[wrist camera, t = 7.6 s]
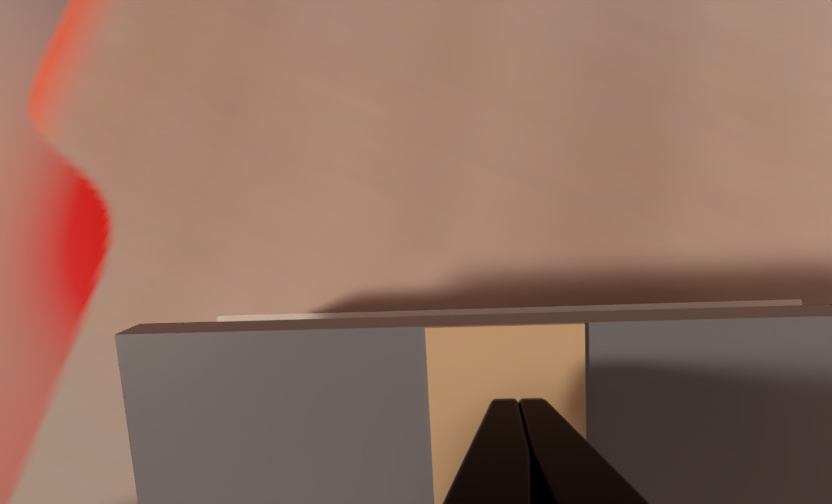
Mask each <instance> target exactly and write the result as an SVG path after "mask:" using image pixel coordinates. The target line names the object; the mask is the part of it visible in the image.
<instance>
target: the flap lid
mask: <svg viewBox="0 0 832 504" xmlns="http://www.w3.org/2000/svg"><path fill="white" fill-rule="evenodd" d="M115 340H116V347H117V355H118V362H119V369H120V376H121V383H122V390H123V398H124V405H125V412H126V419H127V426H128V433H129V441H130V448H131V455H132V462H133V469H134V476H135V484H136V491H137V498H138V504H443V502H444V499H445V497H446V495H447V493H448V491H449V489H450V487H451V485H452V483H453V480H454V478H455V476H456V474H457V472H458V470H459V468H460V466H461V464H462V461H463V459H464V457H465V455H466V453H467V451H468V449H469V447H470V445H471V442H472V440H473V438H474V436H475V434H476V432H477V430H478V428H479V426H480V423H481V421H482V419H483V417H484V415H485V413H486V411H487V409H488V407H489V404H490V402H491V401H492V400H493V399H502V398H514V399H516V400H517V401H518V402H519V400H520V399H521V398H543V399H545V400H547V401H548V402H549V403H550V404H551V405H552V406H553V407H554V408H555V409H556V410H557V411H558V412H559V413H560V414H561V415H562V416H563V417H564V418H565V419H566V420H567V421H568V422H569V423H570V424H571V425H572V426H573V427H574V428H575V429H576V430H577V431H578V432H579V433H580V434H581V435H582V436H583V437H584V438H585V439H586V440H587V441H588V442H589V443H590V444H591V445H592V446H593V447H594V448H595V449H596V450H597V451H598V452H599V453H600V454H601V455H602V456H603V457H604V458H605V459H606V460H607V461H608V462H609V463H610V464H611V465H612V466H613V467H614V468H615V469H616V470H617V471H618V472H619V473H620V474H621V475H622V476H623V477H624V478H625V479H626V480H627V481H628V482H629V483H630V484H631V485H632V486H633V487H634V488H635V489H636V490H637V491H638V492H639V493H640V494H641V495H642V496H643V497H644V498H645V499H646V500H647V501H648V502H649V503H650V504H832V304H828V305H793V306H757V307H722V308H686V309H651V310H615V311H580V312H544V313H509V314H473V315H438V316H402V317H366V318H331V319H295V320H260V321H224V322H189V323H153V324H138V325H136V326H134V327H131V328H129V329H127V330H124V331H122V332H120V333H117V334H115Z"/></svg>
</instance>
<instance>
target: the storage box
mask: <svg viewBox="0 0 832 504" xmlns="http://www.w3.org/2000/svg"><path fill="white" fill-rule="evenodd" d="M793 305H803V303H802V299H786V300H752V301H718V302H683V303H649V304H615V305H581V306H547V307H513V308H479V309H445V310H411V311H377V312H343V313H308V314H274V315H240V316H217V322H224V321H260V320H295V319H331V318H366V317H402V316H438V315H473V314H509V313H544V312H580V311H615V310H651V309H686V308H722V307H757V306H793Z"/></svg>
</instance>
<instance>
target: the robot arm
mask: <svg viewBox="0 0 832 504" xmlns="http://www.w3.org/2000/svg"><path fill="white" fill-rule="evenodd" d="M443 504H650V503H649V502H648V501H647V500H646V499H645V498H644V497H643V496H642V495H641V494H640V493H639V492H638V491H637V490H636V489H635V488H634V487H633V486H632V485H631V484H630V483H629V482H628V481H627V480H626V479H625V478H624V477H623V476H622V475H621V474H620V473H619V472H618V471H617V470H616V469H615V468H614V467H613V466H612V465H611V464H610V463H609V462H608V461H607V460H606V459H605V458H604V457H603V456H602V455H601V454H600V453H599V452H598V451H597V450H596V449H595V448H594V447H593V446H592V445H591V444H590V443H589V442H588V441H587V440H586V439H585V438H584V437H583V436H582V435H581V434H580V433H579V432H578V431H577V430H576V429H575V428H574V427H573V426H572V425H571V424H570V423H569V422H568V421H567V420H566V419H565V418H564V417H563V416H562V415H561V414H560V413H559V412H558V411H557V410H556V409H555V408H554V407H553V406H552V405H551V404H550V403H549V402H548V401H547V400H545V399H543V398H521V399H520V400H519V402H518V401H517V400H516V399H514V398H502V399H493V400H492V401H491V402H490V404H489V407H488V409H487V411H486V413H485V415H484V417H483V419H482V421H481V423H480V426H479V428H478V430H477V432H476V434H475V436H474V438H473V440H472V442H471V445H470V447H469V449H468V451H467V453H466V455H465V457H464V459H463V461H462V464H461V466H460V468H459V470H458V472H457V474H456V476H455V478H454V480H453V483H452V485H451V487H450V489H449V491H448V493H447V495H446V497H445V499H444V502H443Z"/></svg>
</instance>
